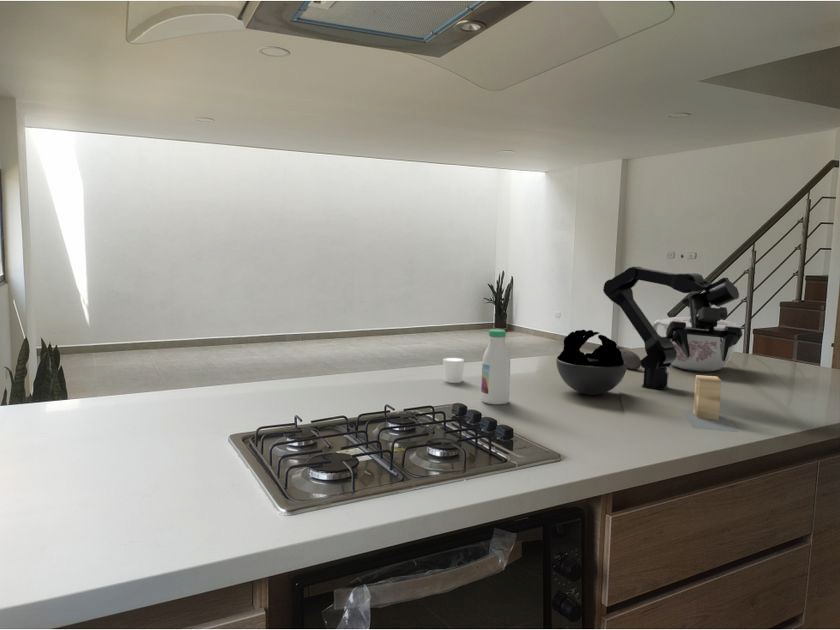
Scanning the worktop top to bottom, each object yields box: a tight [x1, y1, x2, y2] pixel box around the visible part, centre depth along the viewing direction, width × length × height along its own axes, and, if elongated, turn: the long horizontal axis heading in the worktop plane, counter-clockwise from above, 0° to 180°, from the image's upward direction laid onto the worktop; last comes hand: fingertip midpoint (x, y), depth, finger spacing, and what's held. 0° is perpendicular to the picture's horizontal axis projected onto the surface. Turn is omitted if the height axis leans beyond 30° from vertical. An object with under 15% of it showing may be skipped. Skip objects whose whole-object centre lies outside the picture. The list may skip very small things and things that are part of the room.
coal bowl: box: [555, 329, 628, 396], centre depth 172 cm, size 20×20×19 cm
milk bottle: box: [480, 328, 511, 406], centre depth 161 cm, size 8×8×20 cm
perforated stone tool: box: [616, 346, 642, 370], centre depth 212 cm, size 15×5×7 cm, turn 24°
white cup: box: [442, 357, 465, 384], centre depth 186 cm, size 7×7×7 cm
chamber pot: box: [651, 316, 742, 373], centre depth 214 cm, size 28×28×21 cm
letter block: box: [692, 374, 722, 419], centre depth 150 cm, size 5×5×10 cm
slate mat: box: [681, 408, 740, 433], centre depth 147 cm, size 17×10×1 cm, turn 165°
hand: (706, 358), depth 160 cm, fingers open, 9 cm apart
